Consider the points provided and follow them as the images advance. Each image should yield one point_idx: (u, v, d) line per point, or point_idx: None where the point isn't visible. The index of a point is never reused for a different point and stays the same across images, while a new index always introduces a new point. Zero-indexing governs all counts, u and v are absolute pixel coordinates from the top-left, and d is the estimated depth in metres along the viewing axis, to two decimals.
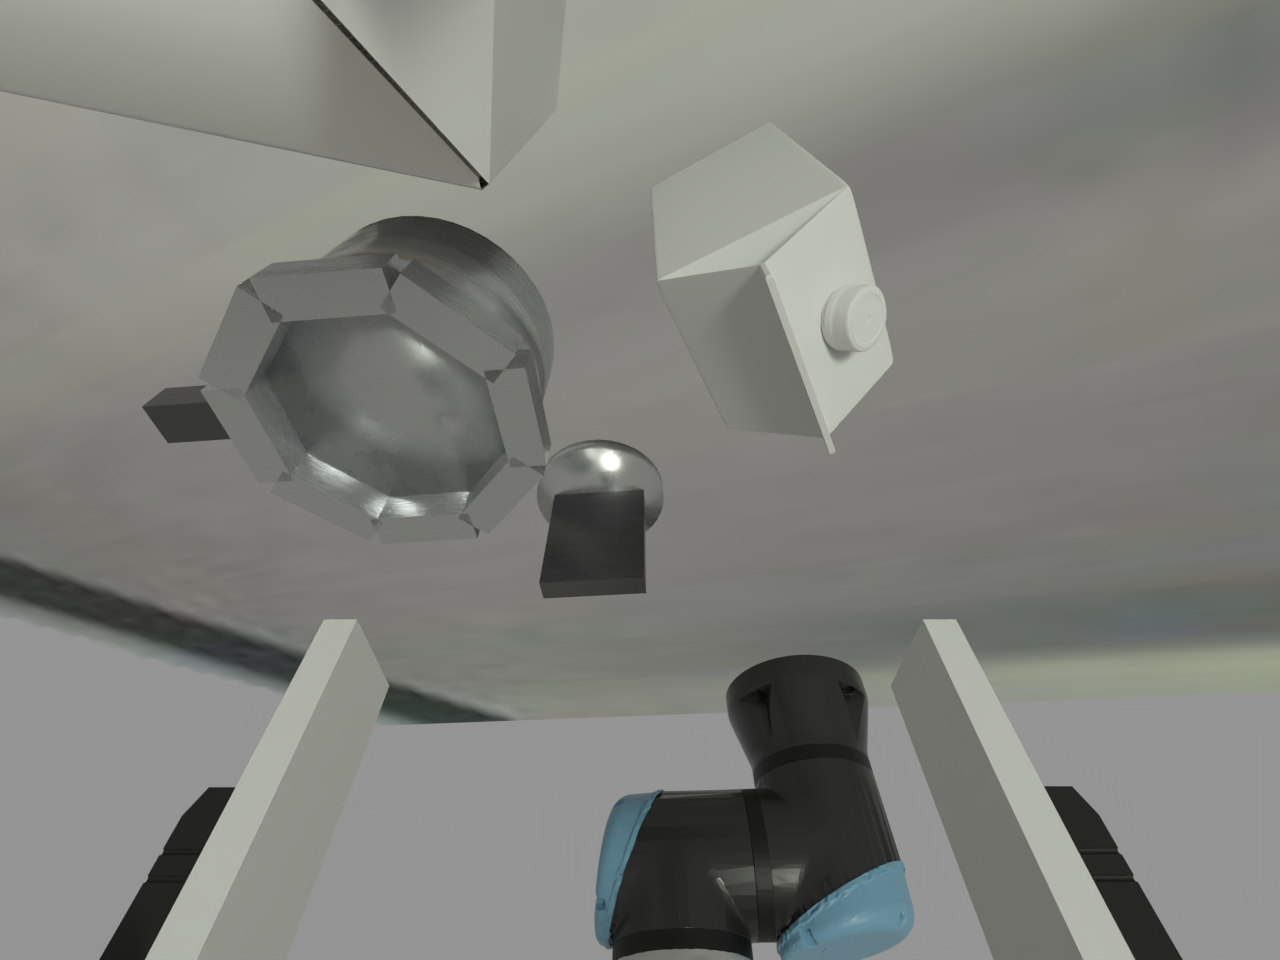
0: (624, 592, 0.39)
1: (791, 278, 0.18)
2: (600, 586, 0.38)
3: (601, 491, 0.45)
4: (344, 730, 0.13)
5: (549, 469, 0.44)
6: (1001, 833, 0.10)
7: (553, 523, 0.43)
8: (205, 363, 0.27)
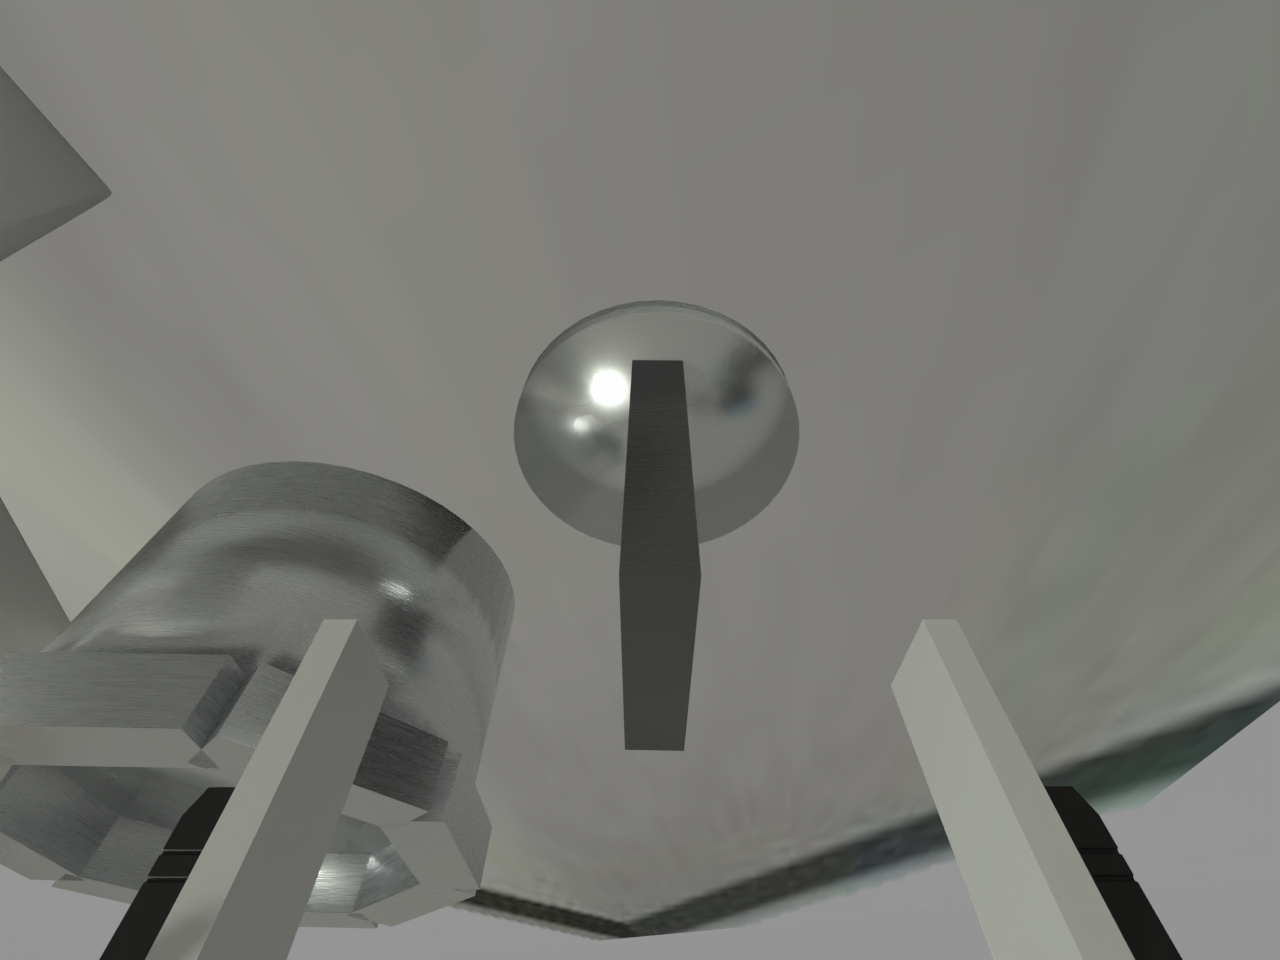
0: (685, 621, 0.12)
1: None
2: (651, 665, 0.13)
3: None
4: (344, 730, 0.13)
5: (570, 521, 0.23)
6: (1001, 833, 0.10)
7: None
8: None
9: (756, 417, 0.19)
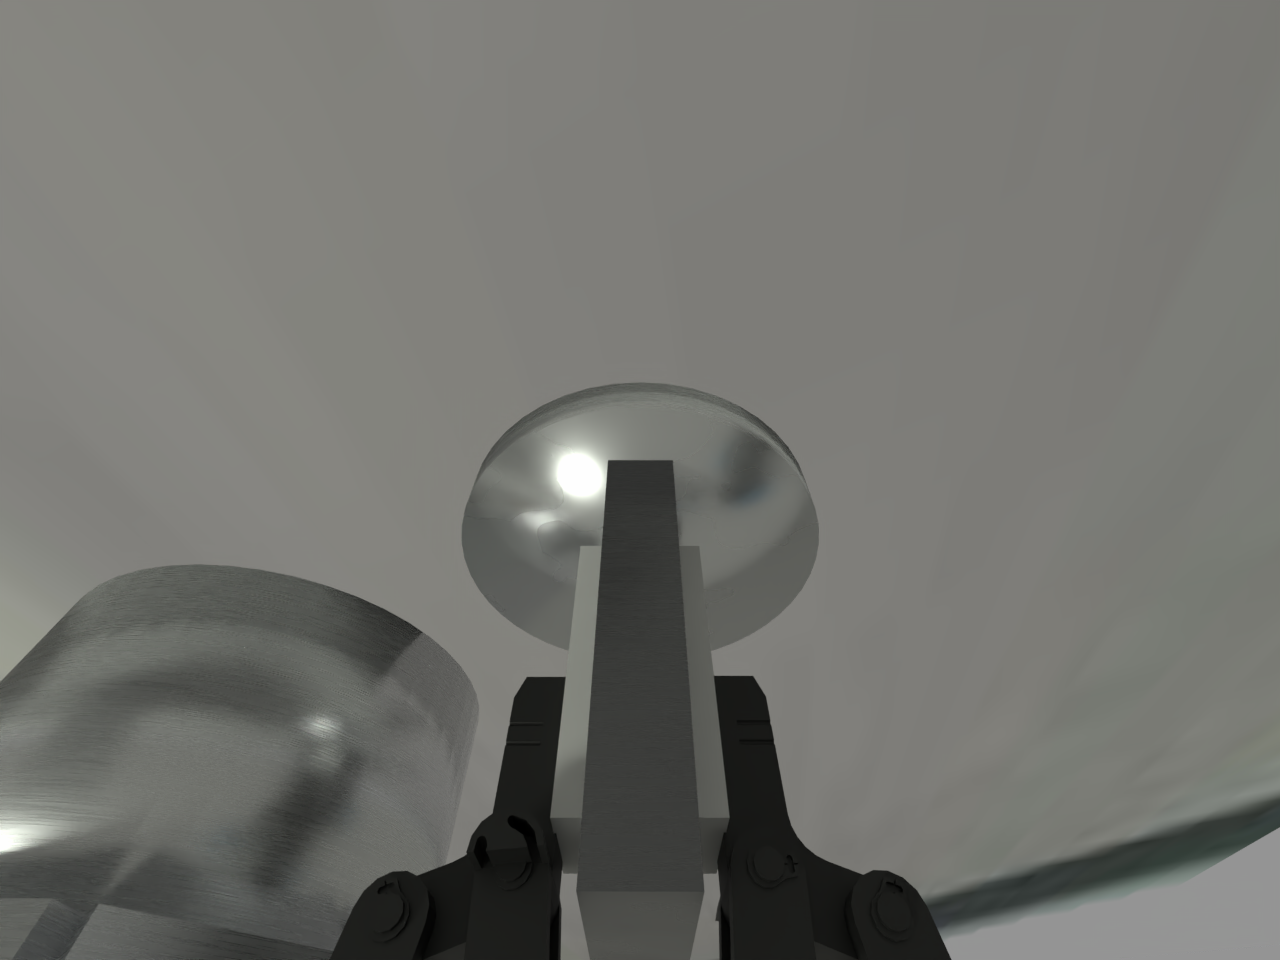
0: (680, 925, 0.08)
1: None
2: (631, 955, 0.09)
3: None
4: None
5: (538, 634, 0.19)
6: None
7: None
8: None
9: (765, 522, 0.16)
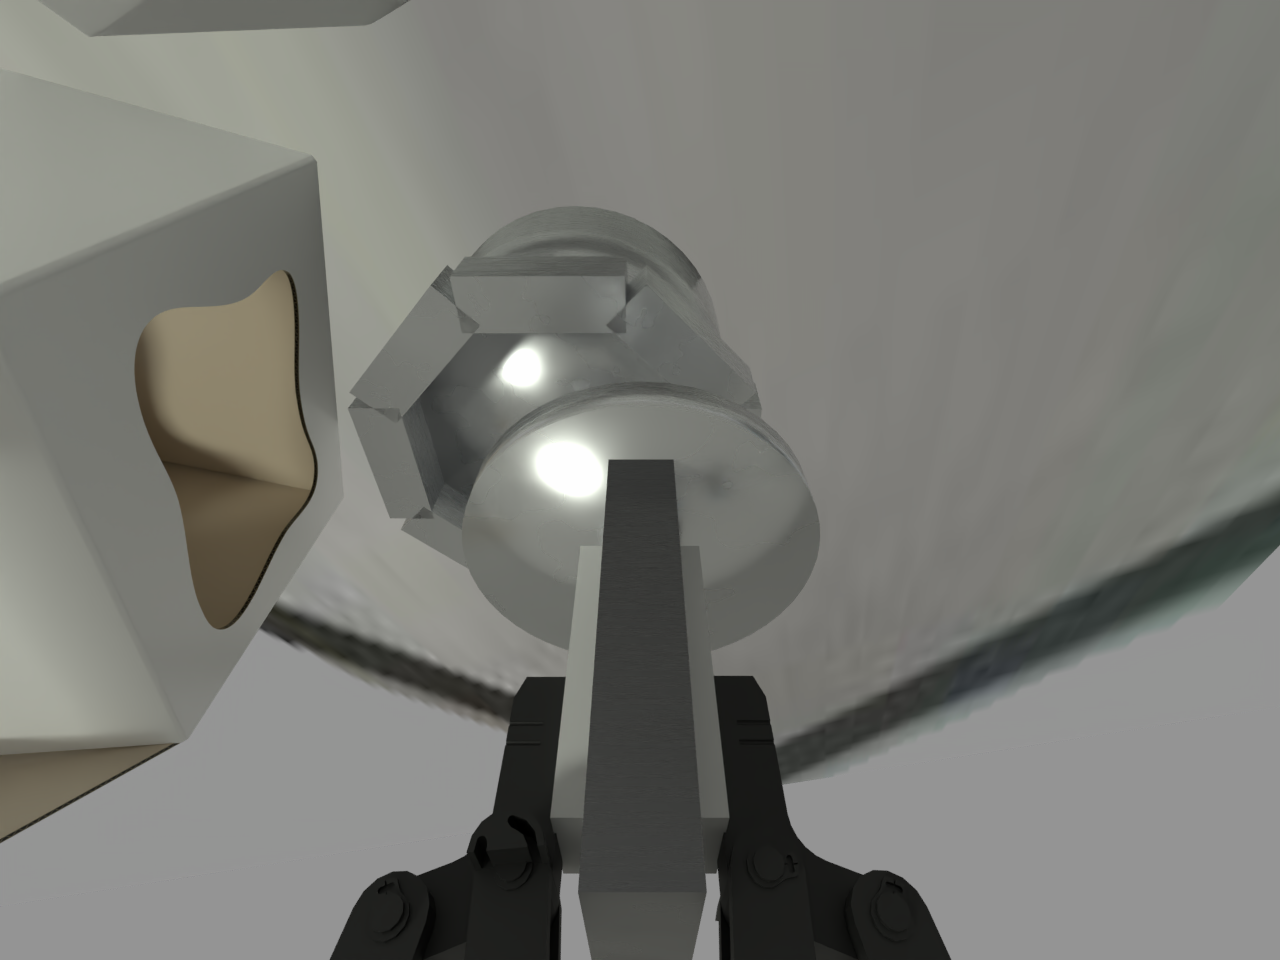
0: (683, 925, 0.08)
1: None
2: (632, 956, 0.09)
3: None
4: None
5: (538, 634, 0.19)
6: None
7: None
8: None
9: (766, 522, 0.15)
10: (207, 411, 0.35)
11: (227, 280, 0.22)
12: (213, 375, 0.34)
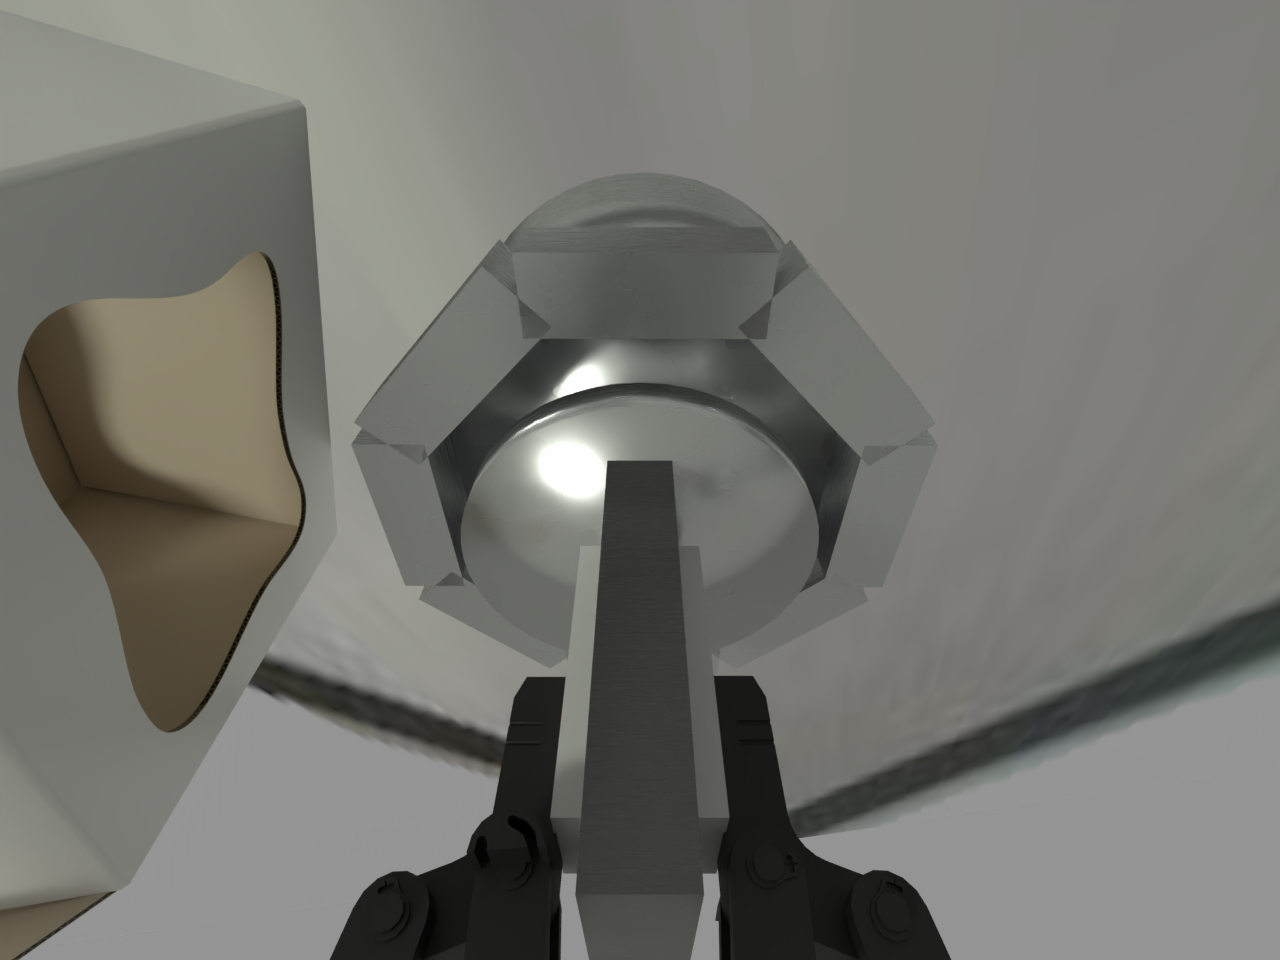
0: (680, 928, 0.08)
1: None
2: (631, 958, 0.09)
3: None
4: None
5: (538, 635, 0.19)
6: None
7: None
8: (530, 656, 0.22)
9: (765, 523, 0.15)
10: (167, 433, 0.29)
11: (177, 261, 0.15)
12: (173, 388, 0.27)
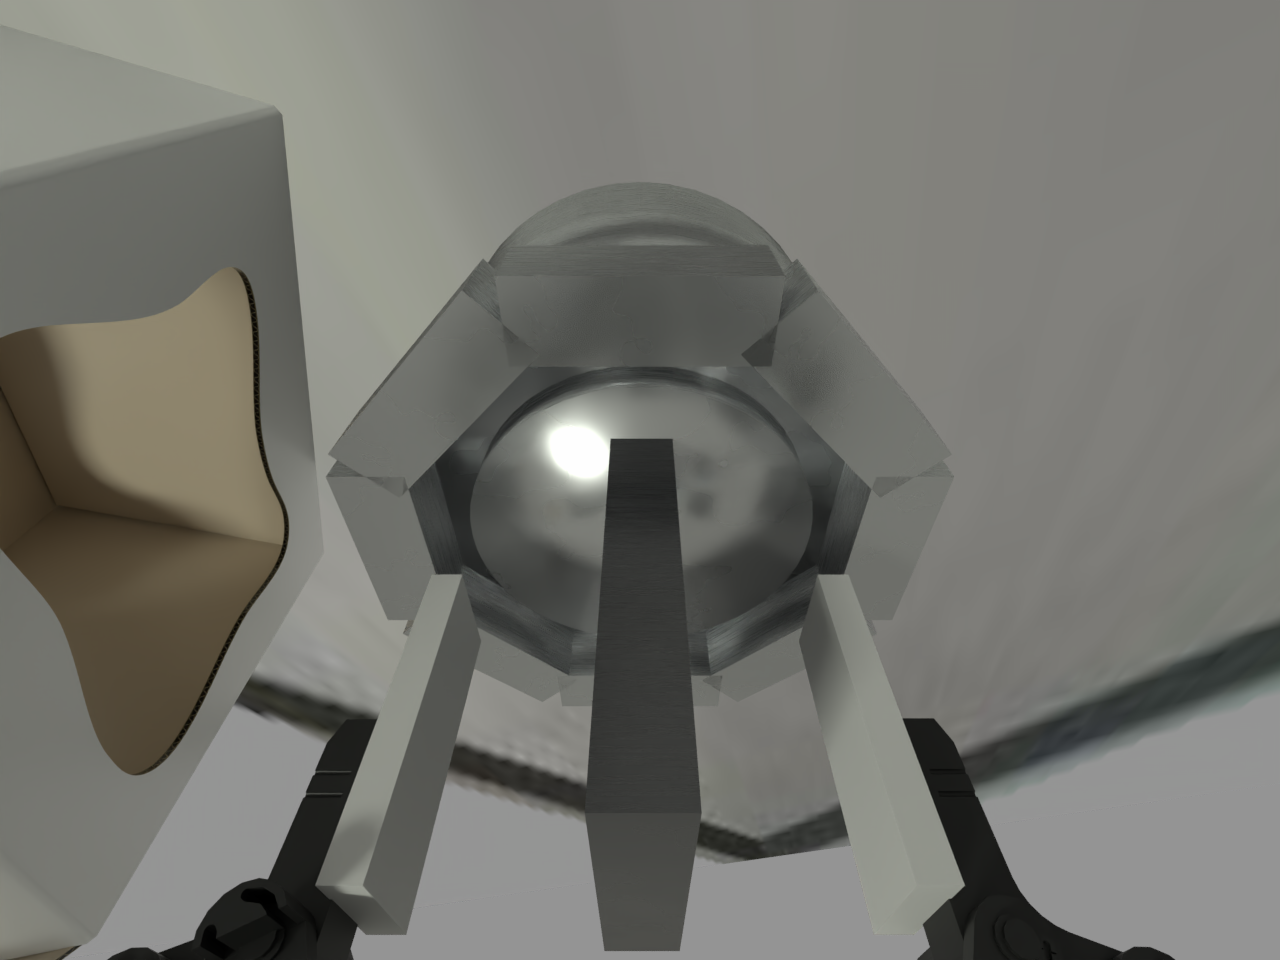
0: (680, 852, 0.09)
1: None
2: (634, 887, 0.10)
3: None
4: (454, 675, 0.14)
5: (542, 611, 0.19)
6: (862, 757, 0.11)
7: None
8: (521, 690, 0.21)
9: (761, 500, 0.16)
10: (144, 451, 0.27)
11: (137, 281, 0.14)
12: (150, 406, 0.26)
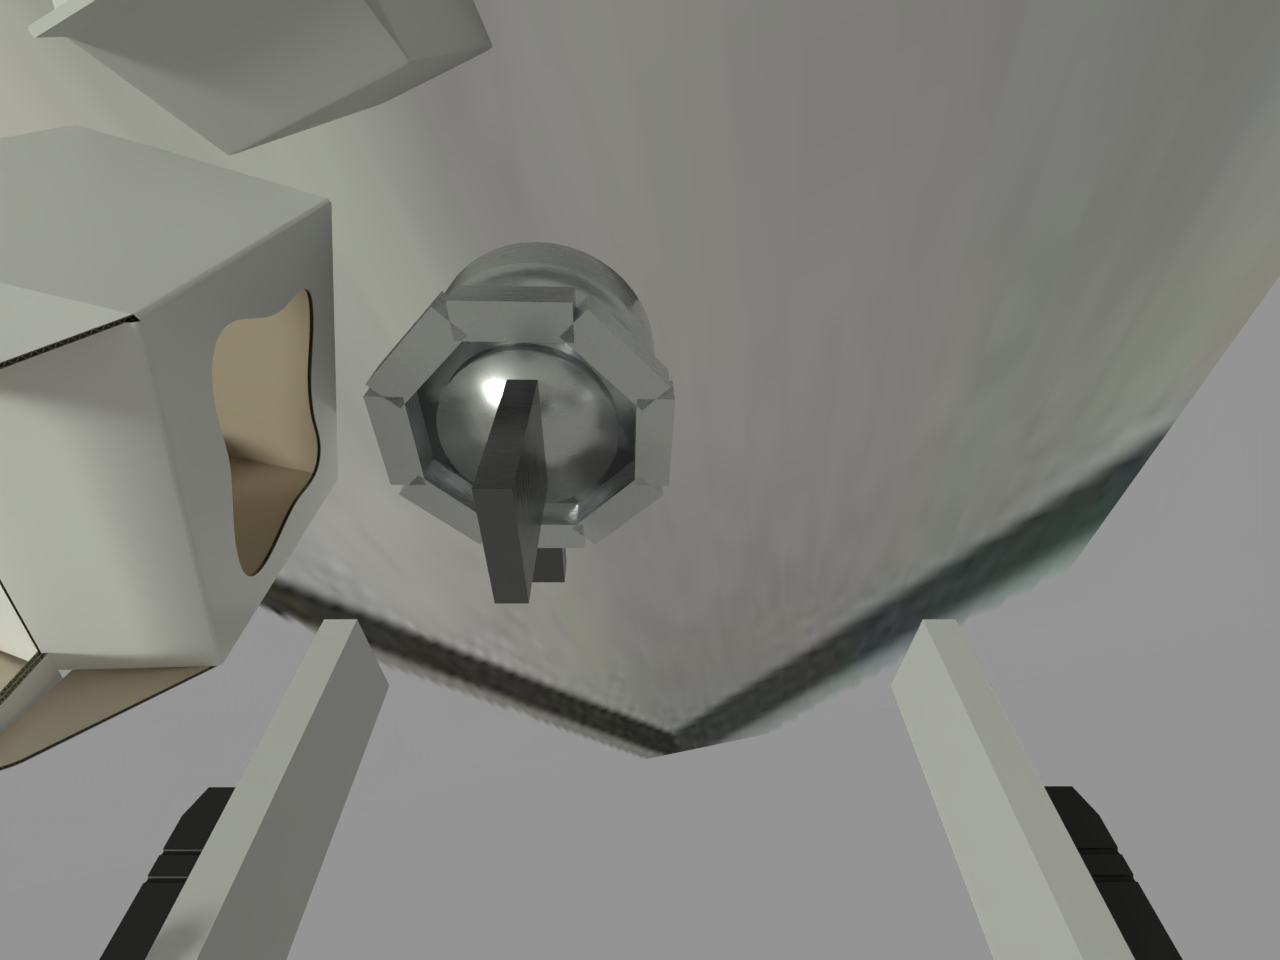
0: (510, 515, 0.24)
1: None
2: (498, 543, 0.25)
3: None
4: (344, 730, 0.13)
5: None
6: (1001, 833, 0.10)
7: None
8: (467, 535, 0.36)
9: (588, 414, 0.31)
10: (222, 402, 0.42)
11: (269, 298, 0.29)
12: (231, 372, 0.40)
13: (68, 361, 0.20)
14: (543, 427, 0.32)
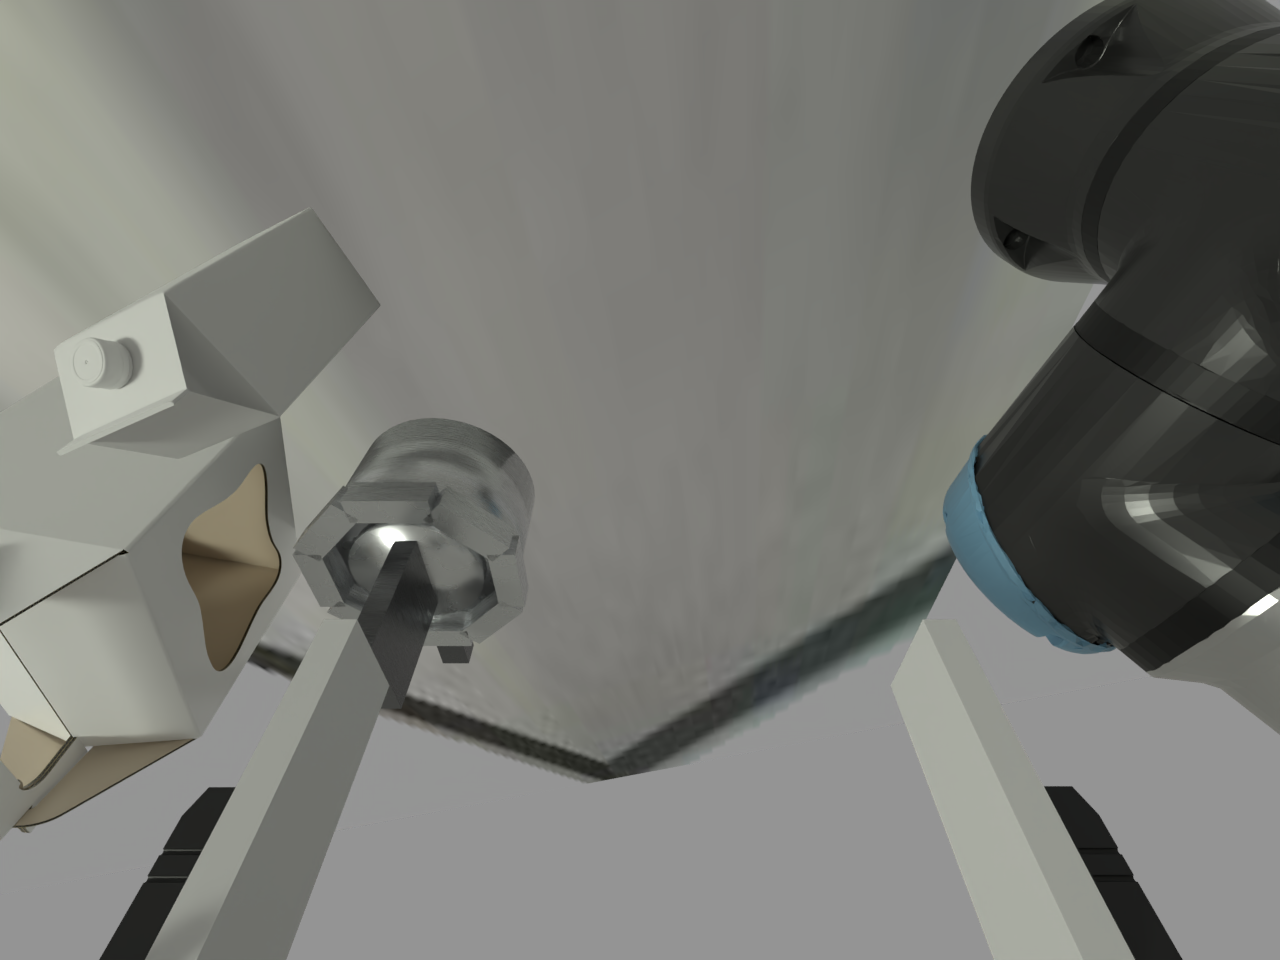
0: None
1: (85, 416, 0.27)
2: None
3: None
4: (344, 730, 0.13)
5: None
6: (1001, 833, 0.10)
7: None
8: None
9: (457, 560, 0.43)
10: (208, 523, 0.54)
11: (226, 487, 0.41)
12: None
13: (84, 578, 0.33)
14: (426, 568, 0.44)
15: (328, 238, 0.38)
